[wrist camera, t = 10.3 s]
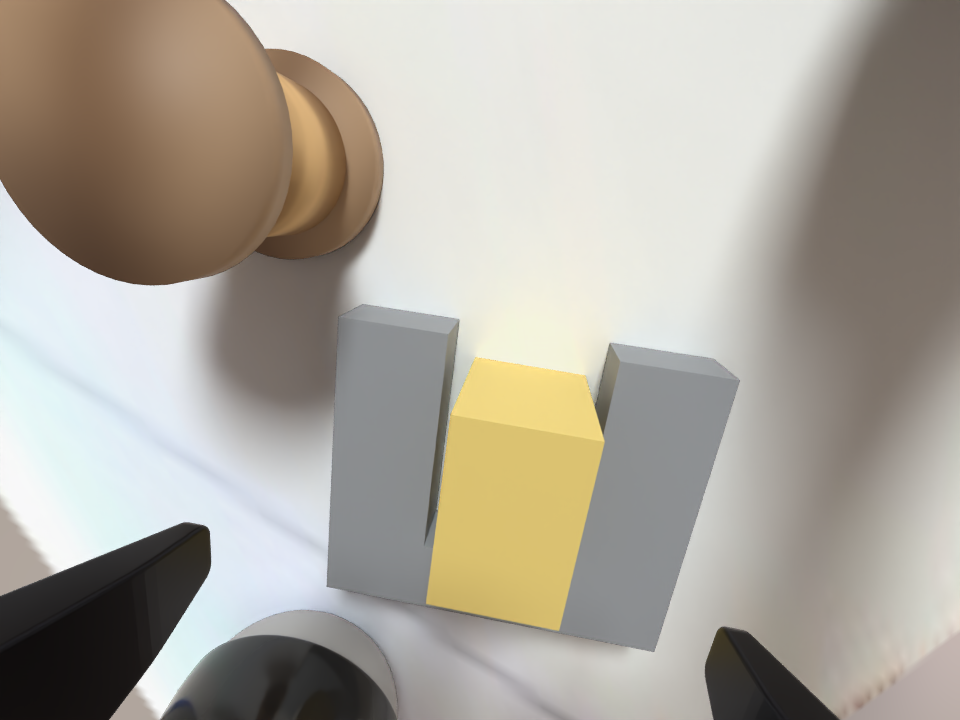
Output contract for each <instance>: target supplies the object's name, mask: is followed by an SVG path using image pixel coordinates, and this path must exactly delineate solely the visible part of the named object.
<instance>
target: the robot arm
mask: <svg viewBox="0 0 960 720" xmlns="http://www.w3.org/2000/svg"><path fill="white" fill-rule="evenodd" d="M210 567H211V545H210V531H209V529H208V527H206V526H204V525H200V524H194V523H189V522H185V523H181V524H178V525H176V526H173V527H171V528H168V529H166V530H163V531H161V532H158V533H156V534H153V535H151V536H148V537H146V538H143V539H141V540H139V541H136V542H134V543H131V544H129V545H126V546H124V547H121V548H119V549H116V550H114V551H111V552H109V553H106V554H104V555H101V556H99V557H96V558H94V559H91V560H89V561H86V562H84V563H81V564H79V565H76V566H74V567H71V568H69V569H66V570H64V571H61V572H59V573H56V574H54V575H52V576H49V577H47V578H44V579H42V580H39V581H37V582H34V583H32V584H29V585H27V586H24V587H22V588H19V589H17V590H14V591H12V592H9V593H7V594H4V595H2V596H0V720H109V719H110V718H111V716H112V715H113V714H114V713H115V711H116V710H117V709H118V707H119V706H120V705H121V704H122V702H123V701H124V700H125V698H126V697H127V696H128V694H129V693H130V692H131V690H132V689H133V688H134V686H135V685H136V684H137V683H138V681H139V680H140V679H141V677H142V676H143V675H144V673H145V672H146V671H147V669H148V668H149V666H150V665H151V664H152V662H153V661H154V659H155V658H156V656H157V655H158V653H159V652H160V650H161V649H162V647H163V646H164V644H165V643H166V641H167V640H168V638H169V636H170V635H171V633H172V632H173V630H174V629H175V627H176V625H177V624H178V622H179V621H180V619H181V617H182V616H183V614H184V613H185V611H186V610H187V608H188V606H189V605H190V603H191V602H192V600H193V598H194V597H195V595H196V594H197V592H198V591H199V589H200V587H201V586H202V584H203V583H204V581H205V579H206V578H207V576H208V574H209V571H210ZM705 679H706V684H707V689H708V694H709V699H710V705H711V710H712V715H713V720H840V719H839V718H838V717H837V716H836V715H835V714H833V713H832V712H831V711H830V710H829V709H828V708H827V707H826V706H825V705H824V704H823V703H822V702H821V701H820V700H819V699H818V698H817V697H816V696H815V695H814V694H813V693H812V692H810V691H809V690H808V689H807V688H806V687H805V686H804V685H803V684H802V683H801V682H800V681H799V680H798V679H797V678H796V677H795V676H794V675H793V674H792V673H791V672H790V671H788V670H787V669H786V668H785V667H784V666H783V665H782V664H781V663H780V662H779V661H778V660H777V659H776V658H775V657H774V656H773V655H772V654H771V653H770V652H769V651H768V650H767V649H765V648H764V647H763V646H762V645H761V644H760V643H759V642H758V641H757V640H756V639H755V638H754V637H753V636H752V635H751V634H749V633H748V632H747V631H744V630H740V629H735V628H730V627H721V628H719V629H718V631H717V633H716V635H715V638H714V641H713V644H712V646H711V649H710V652H709V655H708V658H707V660H706V664H705Z"/></svg>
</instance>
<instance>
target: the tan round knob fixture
mask: <svg viewBox="0 0 960 720" xmlns="http://www.w3.org/2000/svg"><path fill="white" fill-rule="evenodd" d="M0 180H1V182H2V183H3V185H4V187H5V189H6V191H7V192H8V194H9V195H10V197H11V198H12V200H13V201H14V203H15V204H16V205H17V207H18V208H19V210H20V211H21V212H22V213H23V215H24V216H25V217H26V218H27V219H28V221H29V222H30V223H31V224H32V225H33V227H34V228H35V229H36V230H37V231H38V232H39V233H40V234H41V235H42V236H43V237H44V238H45V239H47V240H48V241H49V242H50V243H51V244H52V245H54V246H55V247H56V248H57V249H58V250H60V251H61V252H62V253H63V254H65V255H66V256H68V257H69V258H71V259H72V260H74V261H76V262H77V263H79V264H80V265H82V266H84V267H86V268H88V269H90V270H92V271H94V272H96V273H98V274H101V275H103V276H106V277H109V278H112V279H114V280H118V281H122V282H127V283H131V284H140V285H168V284H174V283H179V282H184V281H189V280H194V279H199V278H204V277H209V276H213V275H216V274H218V273H221V272H224V271H226V270H228V269H230V268H232V267H233V266H235V265H237V264H239V263H240V262H242V261H243V260H244V259H245V258H247V257H248V256H249V255H250V254H252V253H253V252H254V251H256V252H259V253H261V254H264V255H267V256H271V257H275V258H280V259H304V258H309V257H314V256H319V255H324V254H327V253H330V252H333V251H335V250H337V249H339V248H341V247H343V246H345V245H346V244H347V243H349V242H350V241H351V240H353V239H354V238H355V237H356V236H357V235H358V234H359V233H360V232H361V231H362V229H363V228H364V227H365V226H366V224H367V223H368V221H369V220H370V218H371V216H372V214H373V213H374V210H375V208H376V205H377V203H378V200H379V197H380V193H381V189H382V182H383V154H382V147H381V143H380V138H379V135H378V132H377V129H376V126H375V123H374V121H373V119H372V117H371V115H370V113H369V111H368V109H367V108H366V106H365V105H364V103H363V102H362V100H361V99H360V97H359V96H358V95H357V94H356V93H355V91H354V90H353V89H352V88H351V87H350V86H349V85H348V84H347V83H346V82H345V81H343V80H342V79H341V78H340V77H338V76H337V75H336V74H334V73H333V72H331V71H330V70H328V69H327V68H326V67H324V66H323V65H321V64H320V63H318V62H316V61H314V60H312V59H311V58H309V57H307V56H304V55H301V54H298V53H296V52H292V51H287V50H282V49H264V47H263V45H262V44H261V42H260V41H259V39H258V38H257V36H256V35H255V33H254V32H253V30H252V29H251V27H250V26H249V25H248V24H247V23H246V22H245V20H244V19H243V18H242V17H241V16H240V15H239V13H238V12H237V11H236V10H235V9H234V8H233V7H232V6H231V5H230V4H229V3H228V2H226V1H225V0H0Z"/></svg>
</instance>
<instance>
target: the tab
mask: <svg viewBox="0 0 960 720" xmlns="http://www.w3.org/2000/svg"><path fill="white" fill-rule="evenodd" d="M604 443H605V441H604V437H603V434H602V431H601V427H600V424H599V420H598V417H597V414H596V410H595V407H594V403H593V400H592V397H591V393H590V390H589V386H588V383H587V380H586V376H585V375H579V374H573V373H567V372H561V371H555V370H549V369H543V368H537V367H531V366H525V365H519V364H513V363H507V362H502V361H496V360H490V359H484V358H478V357H475V359H474V362H473V364H472V366H471V368H470V371H469V373H468V375H467V378H466V380H465V382H464V385H463V387H462V389H461V392H460V394H459V396H458V399H457V401H456V403H455V406H454V408H453V410H452V413H451V415H450V423H449V430H448V438H447V446H446V453H445V461H444V469H443V476H442V484H441V492H440V499H439V507H438V515H437V522H436V530H435V538H434V545H433V553H432V561H431V568H430V576H429V584H428V591H427V599H426V604H429V605H434V606H439V607H443V608H448V609H453V610H458V611H463V612H468V613H473V614H478V615H483V616H488V617H493V618H498V619H502V620H507V621H512V622H517V623H522V624H527V625H532V626H537V627H542V628H547V629H552V630H557V631H559V629H560V625H561V621H562V617H563V613H564V609H565V604H566V600H567V596H568V592H569V588H570V584H571V580H572V575H573V571H574V567H575V563H576V559H577V555H578V551H579V547H580V542H581V538H582V534H583V530H584V526H585V522H586V518H587V513H588V509H589V505H590V501H591V497H592V493H593V489H594V484H595V480H596V476H597V472H598V468H599V464H600V460H601V456H602V451H603V447H604Z"/></svg>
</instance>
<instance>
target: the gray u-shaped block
mask: <svg viewBox="0 0 960 720" xmlns="http://www.w3.org/2000/svg"><path fill="white" fill-rule="evenodd" d="M458 327H459V319H454V318H448V317H441V316H435V315H428V314H422V313H416V312H409V311H403V310H396V309H390V308H384V307H377V306H371V305H364V304H362V305H360V306H358V307H356V308H354V309H353V310H351V311H349V312H347V313H345V314H343V315H341V316H339V317H338V339H337V362H336V385H335V408H334V431H333V453H332V476H331V499H330V522H329V545H328V568H327V587H330V588H335V589H341V590H346V591H351V592H356V593H361V594H366V595H371V596H376V597H381V598H386V599H391V600H396V601H401V602H406V603H411V604H416V605H421V606H426V607H431V608H436V609H441V610H446V611H451V612H456V613H461V614H466V615H471V616H476V617H481V618H486V619H491V620H496V621H501V622H506V623H511V624H516V625H521V626H526V627H531V628H536V629H541V630H546V631H551V632H556V633H561V634H566V635H571V636H576V637H581V638H586V639H591V640H596V641H601V642H606V643H611V644H616V645H621V646H626V647H632V648H637V649H642V650H647V651H652V652H654V651H655V648H656V645H657V642H658V638H659V635H660V632H661V629H662V626H663V623H664V619H665V616H666V613H667V610H668V607H669V604H670V600H671V597H672V594H673V591H674V588H675V585H676V581H677V578H678V575H679V572H680V569H681V566H682V562H683V559H684V556H685V553H686V550H687V547H688V543H689V540H690V537H691V534H692V531H693V528H694V524H695V521H696V518H697V515H698V512H699V509H700V505H701V502H702V499H703V496H704V493H705V489H706V486H707V483H708V480H709V477H710V474H711V470H712V467H713V464H714V461H715V458H716V455H717V451H718V448H719V445H720V442H721V439H722V436H723V432H724V429H725V426H726V423H727V420H728V417H729V413H730V410H731V407H732V404H733V401H734V398H735V394H736V391H737V388H738V385H739V382H740V380H739V379H738V378H736V377H735V376H734V375H733V374H732V373H730V372H729V371H728V370H727V369H726V368H724V367H723V366H722V365H721V364H719V363H718V362H717V361H716V360H715V359H711V358H704V357H698V356H691V355H685V354H678V353H672V352H666V351H659V350H653V349H646V348H640V347H634V346H627V345H621V344H614V343H610V345H609V349H608V354H607V358H606V363H605V367H604V372H603V376H602V381H601V385H600V390H599V394H598V399H597V403H596V408H595V410H596V414H597V417H598V420H599V424H600V427H601V431H602V434H603V437H604V441H605V443H604V447H603V451H602V456H601V460H600V464H599V468H598V472H597V476H596V480H595V484H594V489H593V493H592V497H591V501H590V505H589V509H588V513H587V518H586V522H585V526H584V530H583V534H582V538H581V542H580V547H579V551H578V555H577V559H576V563H575V567H574V571H573V575H572V580H571V584H570V588H569V592H568V596H567V600H566V604H565V609H564V613H563V617H562V621H561V625H560V629H559V631H557V630H552V629H547V628H542V627H537V626H532V625H527V624H522V623H517V622H512V621H507V620H502V619H498V618H493V617H488V616H483V615H478V614H473V613H468V612H463V611H458V610H453V609H448V608H443V607H439V606H434V605H429V604H426V599H427V591H428V584H429V576H430V568H431V561H432V553H433V545H434V538H435V530H436V522H437V515H438V511H436V508H437V499H438V491H439V483H440V475H441V467H442V458H443V450H444V442H445V434H446V426H447V417H448V409H449V401H450V393H451V385H452V376H453V368H454V360H455V352H456V344H457V335H458Z"/></svg>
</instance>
